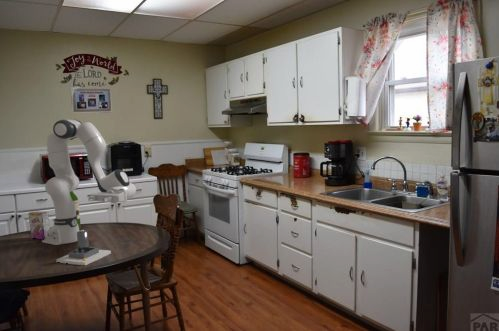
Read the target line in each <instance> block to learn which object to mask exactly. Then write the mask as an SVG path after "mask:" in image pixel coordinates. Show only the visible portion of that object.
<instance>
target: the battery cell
mask: <svg viewBox="0 0 499 331" xmlns="http://www.w3.org/2000/svg"><path fill="white" fill-rule="evenodd" d="M76 242H77V249H78V253H86V252H88V251H89V247H90V246H89V243H90V242H89V233H88V230H85V229H79V231H78V232H77V241H76Z"/></svg>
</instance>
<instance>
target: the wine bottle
mask: <svg viewBox="0 0 499 331" xmlns="http://www.w3.org/2000/svg"><path fill="white" fill-rule="evenodd" d="M70 196H71V198H72V200H73V201H74V202H75V207H76V215H77V218H78V222H77V224H78V226H79V230H81V229H82V225H81V215H80V214H81V213H80V205H79V204H80V203H79V198H78V196H77V195H76V194H75V192H74V190H73V191H71V192H70Z"/></svg>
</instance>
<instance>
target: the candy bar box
mask: <svg viewBox="0 0 499 331" xmlns="http://www.w3.org/2000/svg"><path fill="white" fill-rule="evenodd" d="M27 215H28V223H29V229H30V239H31V238H36V239H35V240H43V239H46V232H47V231H48V230H49V229H50V228H51V226H50V218H49V211H42V210H41V211H40V210H39V211H38V210H34V211H30V212H28V214H27Z"/></svg>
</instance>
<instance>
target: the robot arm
mask: <svg viewBox="0 0 499 331" xmlns="http://www.w3.org/2000/svg"><path fill="white" fill-rule="evenodd" d="M52 131H53V132H51V133H50V134H48V136H47V138H46V152H47V157H48V158H47V159H48V165H49V167H50V168H51V169H52V170H53V173H54V175H55V176H54V177H52V178H50V179H48V180H47V181H46V183H45V186H44V190H45V192H46V193H47V194H48V195H49V196H50V198H51V200H52V203H53V206H54V215H55V218H53V219H52V222H53V225H52V226H50V229H49V230H48V231H47V232H46V239H44V240H43V239H41V243H45V244H49V245H53V246H58V245H64V244H66V245H67V244H70V243H71V244H72V243H76V242H78V241H77V232H78V231H80V229H79V226H78V224H77V222H78V218H77V215H76V207H75V202H74V201H73V200H72V198H71V196H70V192H71V191H73V192H74V190H76V189H77V188H78V187H79V185H80V179H79V177H78V176H77V175H76V173H75V171H74V169H73V167H72V163H71V157H70V153H69V144H68V143H69V141H71V140H72V141H73V140H74V139H77V138H78V139H79V140H80V141H81V142H82V145H83V146H84V147H85V150H86V156H87V157H86V160H87V163H88V165H89V167H90V170H91V173H92V174H93V176H94V179H95V181H96V183H97V189H98V190H99V192H93V193H90V194H88V198H87V199H88V201H89V202H94V201H95V202H104V203H105V202H109V203H110V204H116V203H118V204H119V203H124V202H127V201H128V200H130V199H132V198H134V196H136V194H137V188H136V186H135V184H134V183H132V182H130V179H129V176H128V174H127V172H125V171H124V170H122V169H115V170H113V171H112V172H110V173H108V175H105V172H104V170H103V168H102V165H101V158H102V157H103V154H104V153H105V151H106V149H107V143H106V141H105V139H104V137H103V136H102V134H101V132H100V130H98V129H97V127H96V126H95V125H94V124H93V123H92V122H90V121H86V122H82V121H80V120H78V119H71V118H66V119H60V120H57V121H56V122H55V123H54V125H53V127H52Z"/></svg>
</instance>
